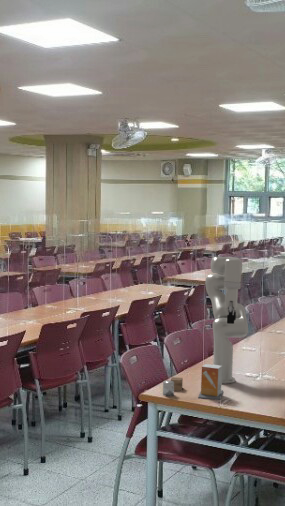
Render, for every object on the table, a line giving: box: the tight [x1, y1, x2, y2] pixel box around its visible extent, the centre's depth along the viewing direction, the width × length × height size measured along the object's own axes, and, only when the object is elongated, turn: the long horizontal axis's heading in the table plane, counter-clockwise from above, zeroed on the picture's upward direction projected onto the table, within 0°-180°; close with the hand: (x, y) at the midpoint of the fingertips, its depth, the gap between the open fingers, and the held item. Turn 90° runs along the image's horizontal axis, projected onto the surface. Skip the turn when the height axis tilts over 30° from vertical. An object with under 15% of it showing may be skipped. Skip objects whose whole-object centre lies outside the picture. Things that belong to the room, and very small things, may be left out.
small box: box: [200, 363, 222, 396], centre depth 298 cm, size 8×6×13 cm
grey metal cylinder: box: [162, 379, 175, 397], centre depth 298 cm, size 5×5×6 cm
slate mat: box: [197, 389, 224, 401], centre depth 299 cm, size 14×10×1 cm
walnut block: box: [170, 376, 183, 391], centre depth 308 cm, size 5×5×5 cm
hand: (231, 321), depth 302 cm, fingers open, 9 cm apart
